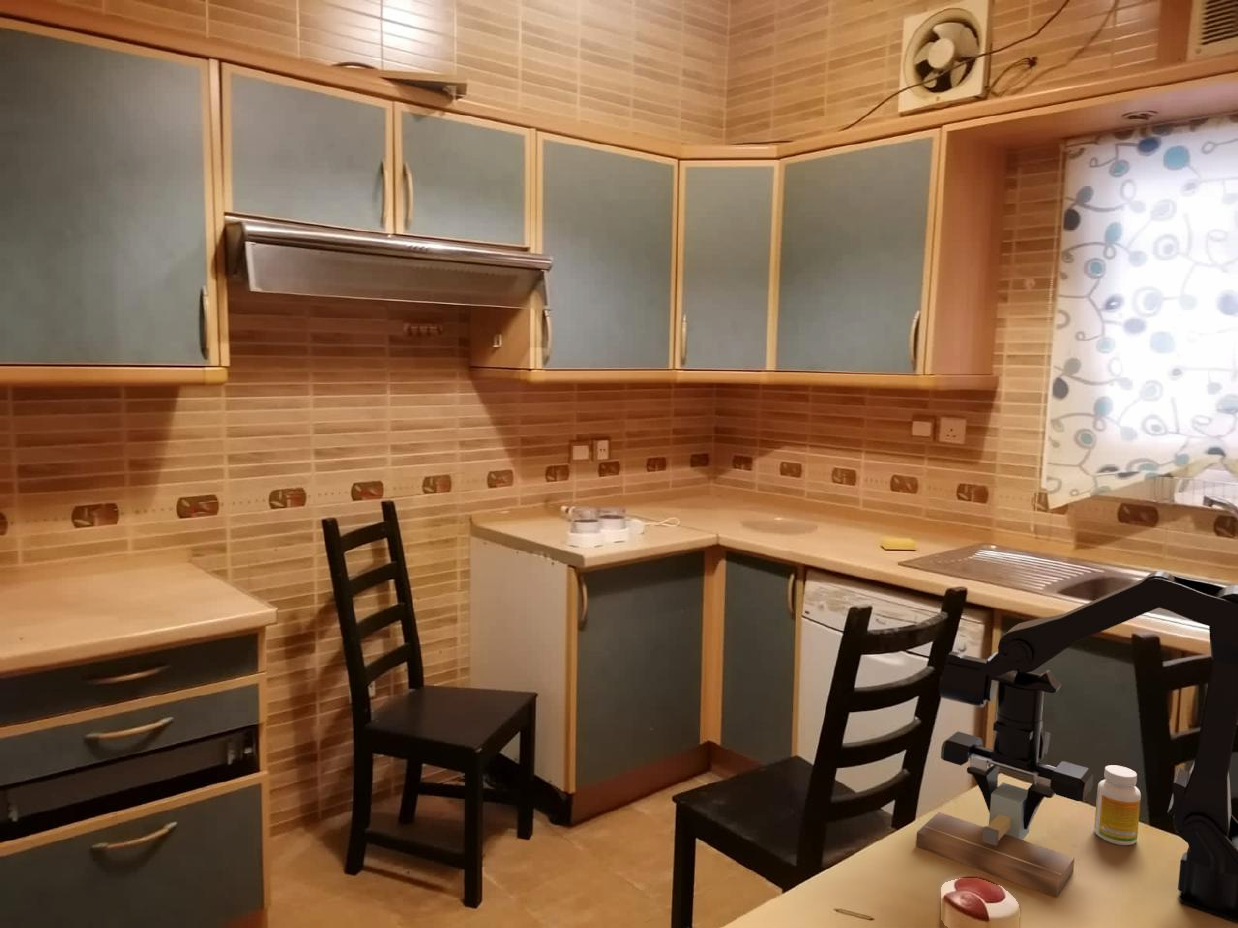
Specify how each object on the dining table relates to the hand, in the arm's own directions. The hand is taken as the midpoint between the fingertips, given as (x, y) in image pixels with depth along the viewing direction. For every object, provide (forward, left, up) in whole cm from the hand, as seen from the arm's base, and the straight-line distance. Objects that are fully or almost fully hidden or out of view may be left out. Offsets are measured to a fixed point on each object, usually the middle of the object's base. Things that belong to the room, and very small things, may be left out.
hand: (1009, 822), depth 126 cm
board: (0, +7, -3) cm, 7 cm away
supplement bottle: (-11, -12, -3) cm, 16 cm away
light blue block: (0, +3, -1) cm, 4 cm away
